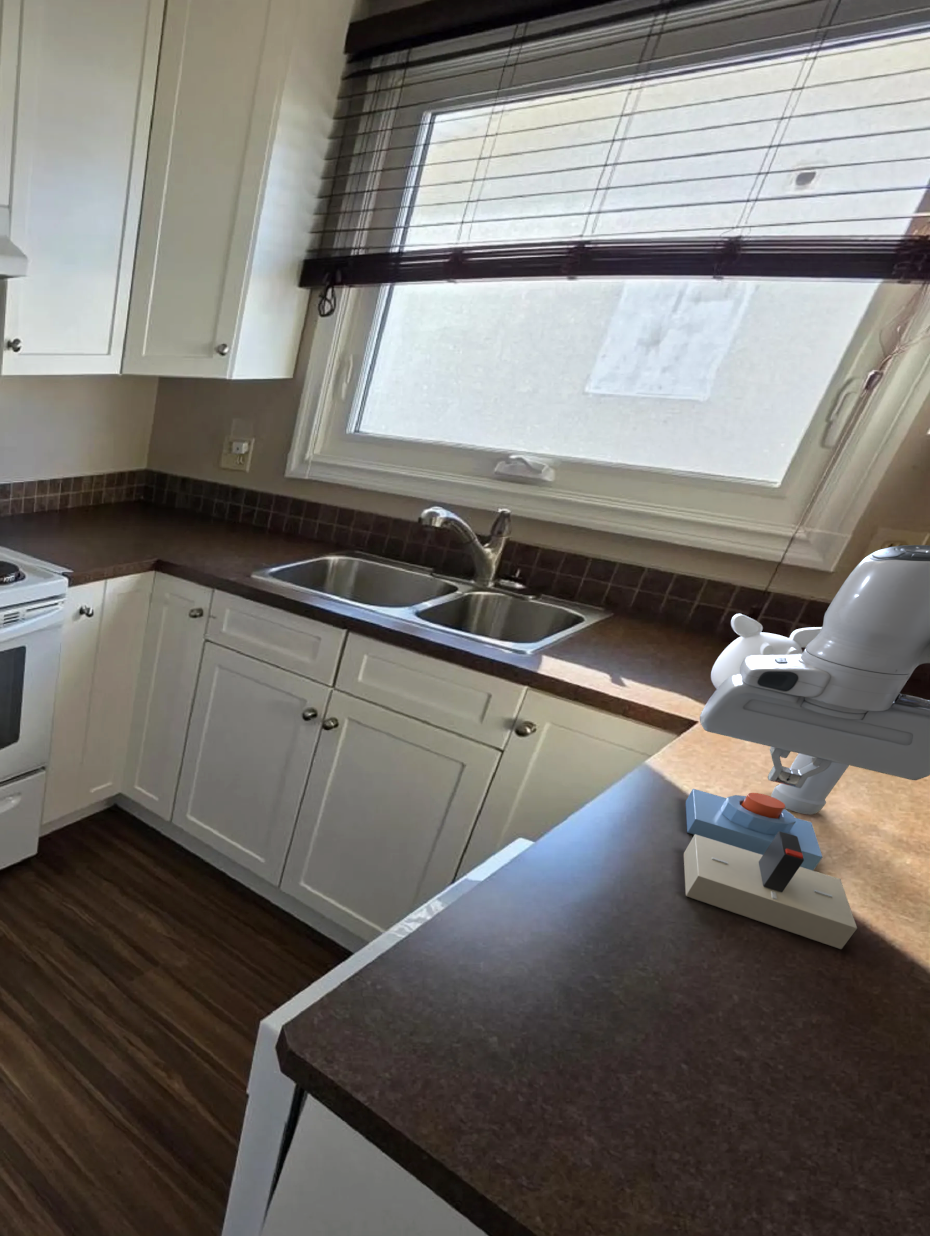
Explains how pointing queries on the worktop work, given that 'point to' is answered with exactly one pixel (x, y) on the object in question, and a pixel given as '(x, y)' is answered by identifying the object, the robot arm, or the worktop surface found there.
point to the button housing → (747, 825)
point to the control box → (768, 892)
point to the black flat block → (780, 861)
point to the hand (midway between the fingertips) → (783, 782)
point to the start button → (763, 805)
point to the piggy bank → (756, 646)
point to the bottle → (809, 787)
